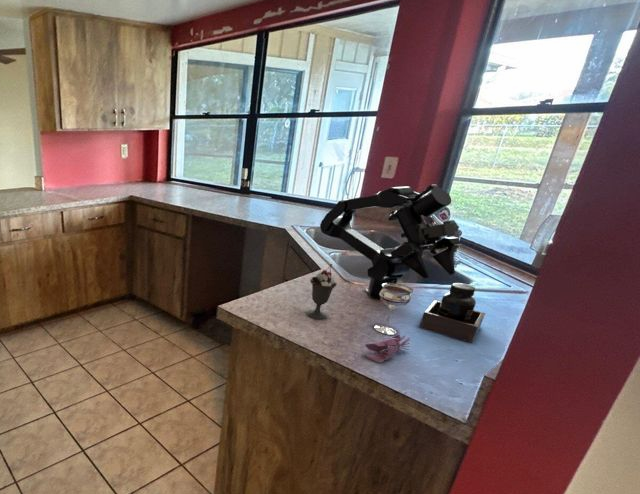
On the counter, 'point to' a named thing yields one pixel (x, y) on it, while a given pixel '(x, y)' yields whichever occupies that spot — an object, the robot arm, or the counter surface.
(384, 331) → the wineglass
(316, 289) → the sundae
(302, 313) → the counter surface
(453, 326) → the caddy
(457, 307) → the supplement bottle
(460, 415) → the counter surface
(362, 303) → the counter surface
